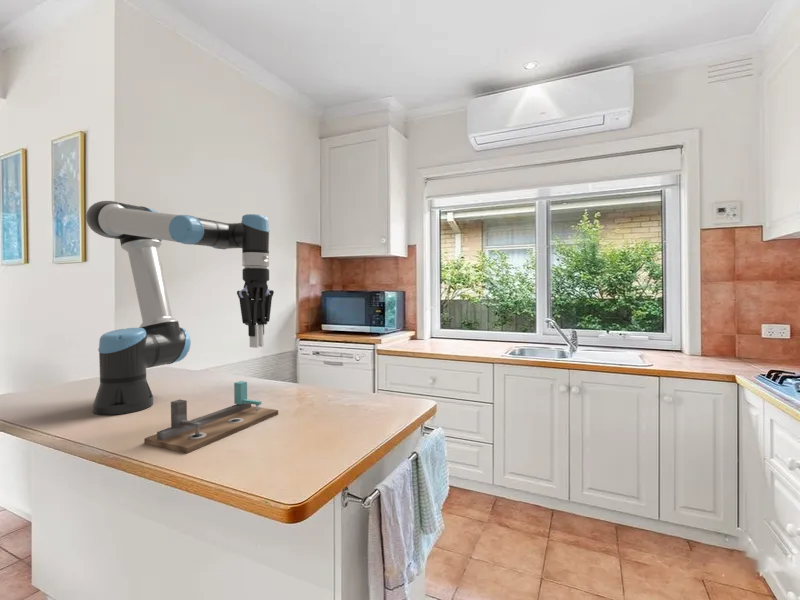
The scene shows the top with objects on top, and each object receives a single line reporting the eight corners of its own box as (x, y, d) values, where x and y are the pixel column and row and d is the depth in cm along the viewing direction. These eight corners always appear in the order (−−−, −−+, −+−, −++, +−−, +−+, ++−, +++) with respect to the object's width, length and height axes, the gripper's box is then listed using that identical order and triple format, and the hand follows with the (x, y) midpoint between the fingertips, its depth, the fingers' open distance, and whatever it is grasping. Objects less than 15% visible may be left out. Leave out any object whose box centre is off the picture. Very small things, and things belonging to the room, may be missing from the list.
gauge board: (144, 443, 97) (143, 405, 96) (240, 408, 124) (240, 379, 124) (187, 453, 91) (187, 413, 91) (278, 414, 119) (278, 383, 118)
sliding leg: (234, 408, 118) (234, 382, 118) (240, 406, 120) (240, 381, 120) (257, 412, 115) (256, 385, 115) (263, 409, 117) (262, 383, 117)
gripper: (248, 266, 115) (248, 351, 116) (282, 268, 128) (282, 344, 129) (227, 266, 118) (228, 349, 119) (262, 268, 131) (263, 343, 132)
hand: (256, 346), depth 124 cm, fingers closed
